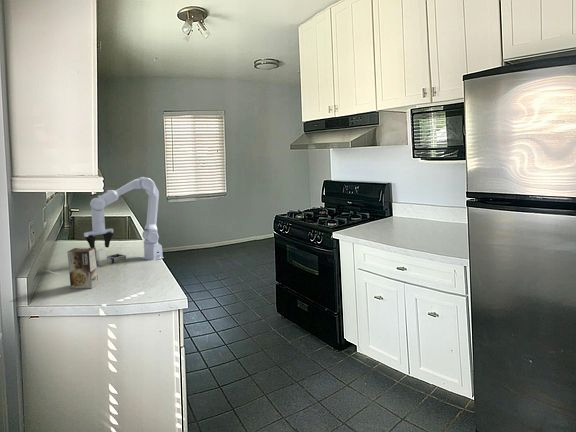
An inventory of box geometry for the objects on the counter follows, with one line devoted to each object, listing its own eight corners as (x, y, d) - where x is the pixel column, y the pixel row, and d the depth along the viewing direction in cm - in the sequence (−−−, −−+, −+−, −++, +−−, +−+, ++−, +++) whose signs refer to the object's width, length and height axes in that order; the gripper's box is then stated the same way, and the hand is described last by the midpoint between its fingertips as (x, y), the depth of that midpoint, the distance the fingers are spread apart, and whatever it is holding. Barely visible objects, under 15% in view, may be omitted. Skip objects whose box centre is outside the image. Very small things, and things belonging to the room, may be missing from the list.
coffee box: (98, 283, 168) (96, 247, 166) (91, 288, 162) (89, 251, 159) (77, 283, 168) (74, 247, 165) (69, 288, 161) (66, 251, 159)
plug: (107, 263, 197) (106, 250, 196) (99, 265, 194) (98, 251, 193) (101, 262, 200) (100, 249, 199) (94, 263, 196) (93, 250, 195)
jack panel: (127, 261, 205) (127, 255, 204) (99, 268, 191) (99, 262, 191) (117, 258, 209) (117, 253, 209) (88, 265, 196) (88, 259, 195)
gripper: (106, 219, 201) (108, 245, 203) (79, 223, 189) (81, 250, 191) (115, 220, 198) (116, 246, 200) (88, 224, 186) (89, 252, 188)
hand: (100, 248), depth 195 cm, fingers open, 7 cm apart
